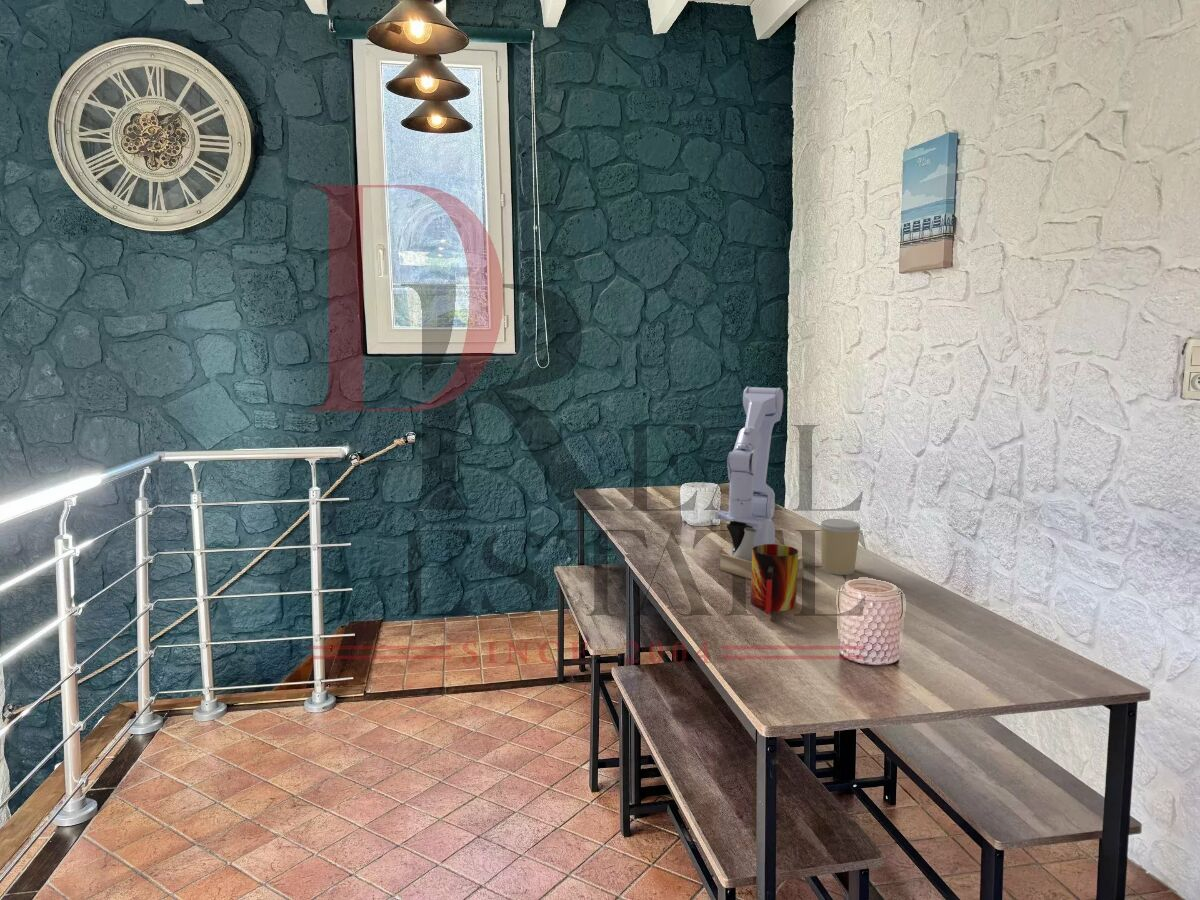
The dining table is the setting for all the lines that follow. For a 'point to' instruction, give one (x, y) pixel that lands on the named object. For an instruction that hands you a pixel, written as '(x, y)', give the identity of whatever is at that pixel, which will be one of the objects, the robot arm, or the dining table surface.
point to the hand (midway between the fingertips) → (738, 551)
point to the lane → (749, 566)
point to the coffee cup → (839, 545)
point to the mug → (774, 577)
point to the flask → (746, 545)
